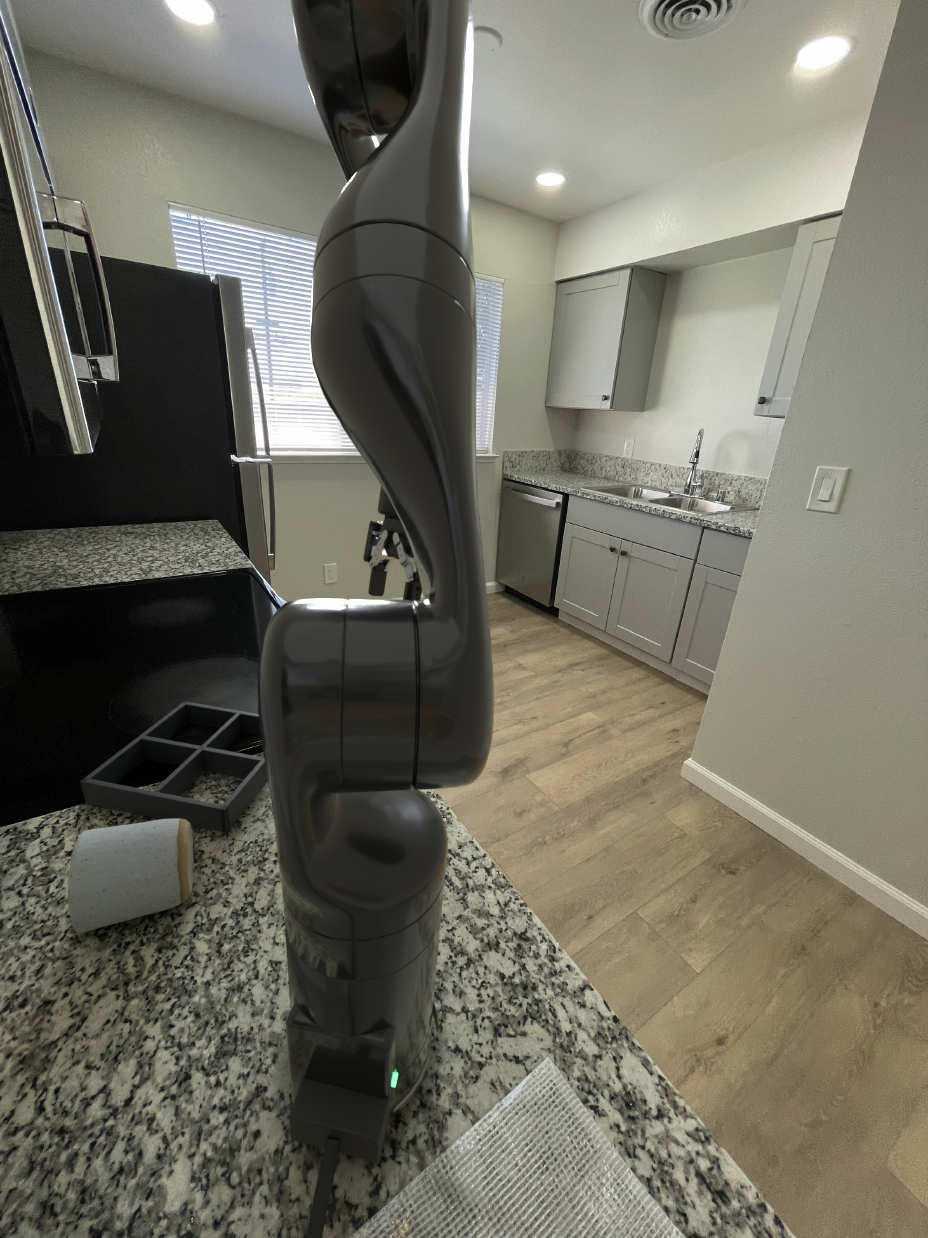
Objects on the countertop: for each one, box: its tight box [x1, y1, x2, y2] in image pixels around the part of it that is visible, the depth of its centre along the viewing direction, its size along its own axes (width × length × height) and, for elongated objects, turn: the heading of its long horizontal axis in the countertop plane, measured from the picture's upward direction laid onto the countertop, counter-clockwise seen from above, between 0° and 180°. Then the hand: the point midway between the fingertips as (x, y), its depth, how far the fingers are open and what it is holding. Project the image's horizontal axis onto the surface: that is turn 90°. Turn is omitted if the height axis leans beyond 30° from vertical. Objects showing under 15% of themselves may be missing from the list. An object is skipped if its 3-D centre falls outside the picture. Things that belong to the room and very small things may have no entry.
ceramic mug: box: [67, 819, 194, 934], centre depth 44 cm, size 11×8×8 cm
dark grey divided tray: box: [79, 700, 268, 833], centre depth 60 cm, size 16×16×3 cm
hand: (392, 602), depth 70 cm, fingers open, 8 cm apart
